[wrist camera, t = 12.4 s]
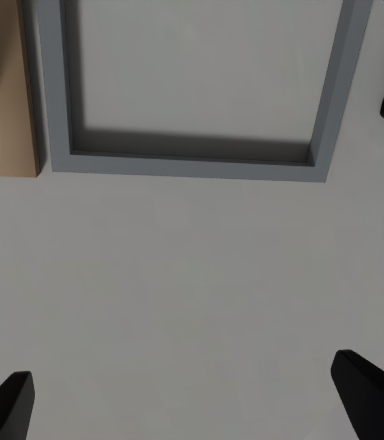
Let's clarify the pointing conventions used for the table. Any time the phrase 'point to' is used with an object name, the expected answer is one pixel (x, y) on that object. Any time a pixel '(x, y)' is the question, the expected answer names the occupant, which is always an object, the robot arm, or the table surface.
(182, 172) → the bin rim
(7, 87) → the walnut pad
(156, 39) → the table surface
